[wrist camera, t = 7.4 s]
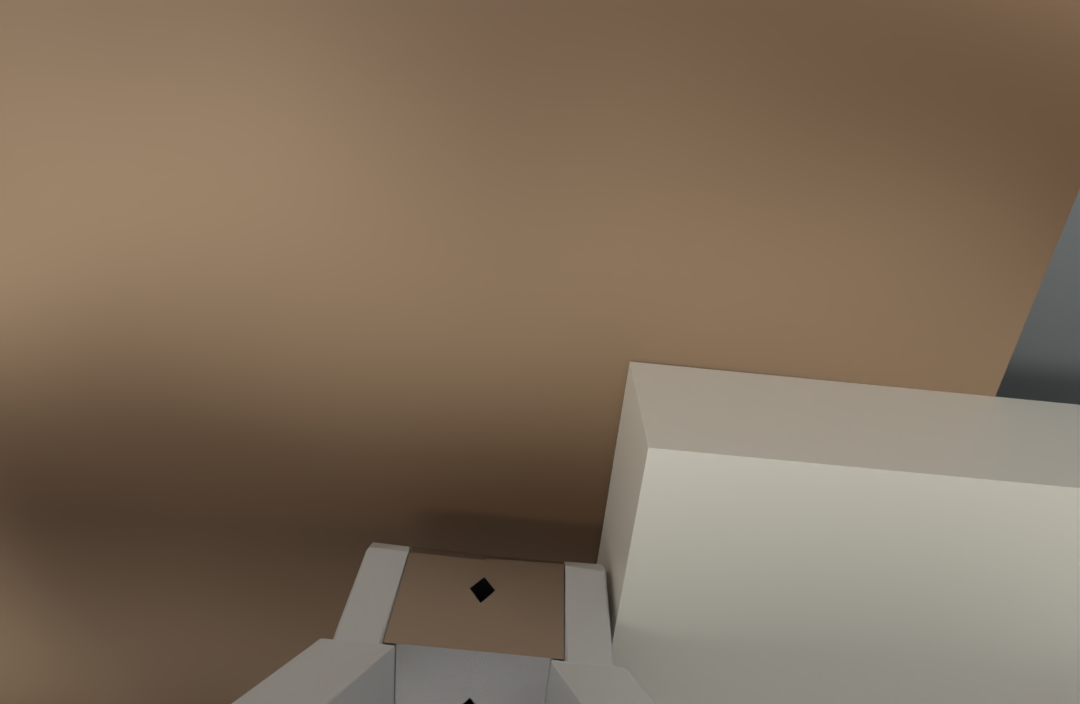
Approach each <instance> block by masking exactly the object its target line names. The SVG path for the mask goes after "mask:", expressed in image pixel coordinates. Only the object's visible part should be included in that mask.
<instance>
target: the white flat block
mask: <svg viewBox="0 0 1080 704" xmlns="http://www.w3.org/2000/svg"><path fill="white" fill-rule="evenodd" d="M597 564H602V565H603V566H604V568H605V570H606V580H607V593H608V605H609V617H610V629H611V642H612V654H613V666H616V667H625V668H627V670H628V671H629V672H630V673H631V675H632V676H633V677H634V678H635V679H636V681H637V682H638V683H639V684H640V685H641V687H642V688H643V689H644V690H645V691H646V693H647V694H648V695H649V696H650V698H651V699H652V700H653V701H654V702H655V704H1080V405H1077V404H1067V403H1057V402H1046V401H1036V400H1025V399H1015V398H1005V397H993V396H983V395H973V394H963V393H953V392H942V391H932V390H921V389H911V388H901V387H890V386H880V385H869V384H859V383H849V382H838V381H828V380H817V379H807V378H797V377H786V376H776V375H765V374H755V373H745V372H734V371H724V370H713V369H703V368H693V367H682V366H672V365H661V364H651V363H641V362H629V368H628V375H627V381H626V387H625V393H624V399H623V405H622V412H621V418H620V424H619V430H618V436H617V442H616V448H615V455H614V461H613V467H612V473H611V479H610V485H609V492H608V498H607V504H606V510H605V516H604V522H603V529H602V535H601V541H600V547H599V553H598V559H597Z"/></svg>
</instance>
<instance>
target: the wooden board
mask: <svg viewBox="0 0 1080 704" xmlns="http://www.w3.org/2000/svg"><path fill="white" fill-rule="evenodd" d="M1079 189H1080V0H0V704H232V703H233V702H235V701H236V700H237V699H239V698H240V697H241V696H243V695H244V694H245V693H247V692H248V691H250V690H251V689H252V688H254V687H255V686H256V685H258V684H259V683H260V682H262V681H263V680H264V679H266V678H267V677H269V676H270V675H271V674H273V673H274V672H275V671H277V670H278V669H279V668H281V667H282V666H284V665H285V664H286V663H288V662H289V661H290V660H292V659H293V658H294V657H296V656H297V655H298V654H300V653H301V652H303V651H304V650H305V649H307V648H308V647H309V646H311V645H312V644H313V643H315V642H316V641H317V640H319V639H333V637H334V635H335V632H336V629H337V627H338V624H339V621H340V619H341V616H342V614H343V611H344V608H345V606H346V603H347V600H348V598H349V595H350V592H351V590H352V587H353V585H354V582H355V579H356V577H357V574H358V571H359V569H360V566H361V563H362V561H363V558H364V555H365V553H366V550H367V549H368V548H369V546H370V545H371V544H372V543H373V542H375V543H384V544H392V545H401V546H409V547H413V546H415V547H423V548H431V549H440V550H448V551H456V552H464V553H473V554H481V555H489V556H499V557H510V558H521V559H532V560H543V561H555V562H563V563H564V562H578V563H591V564H597V559H598V553H599V547H600V541H601V535H602V529H603V522H604V516H605V510H606V504H607V498H608V492H609V485H610V479H611V473H612V467H613V461H614V455H615V448H616V442H617V436H618V430H619V424H620V418H621V412H622V405H623V399H624V393H625V387H626V381H627V375H628V368H629V362H641V363H651V364H661V365H672V366H682V367H693V368H703V369H713V370H724V371H734V372H745V373H755V374H765V375H776V376H786V377H797V378H807V379H817V380H828V381H838V382H849V383H859V384H869V385H880V386H890V387H901V388H911V389H921V390H932V391H942V392H953V393H963V394H973V395H983V396H993V397H995V396H996V393H997V391H998V388H999V386H1000V384H1001V381H1002V379H1003V376H1004V374H1005V371H1006V369H1007V366H1008V364H1009V361H1010V359H1011V356H1012V354H1013V352H1014V349H1015V347H1016V344H1017V342H1018V339H1019V337H1020V334H1021V332H1022V329H1023V327H1024V324H1025V322H1026V320H1027V317H1028V315H1029V312H1030V310H1031V307H1032V305H1033V302H1034V300H1035V297H1036V295H1037V292H1038V290H1039V288H1040V285H1041V283H1042V280H1043V278H1044V275H1045V273H1046V270H1047V268H1048V265H1049V263H1050V260H1051V258H1052V256H1053V253H1054V251H1055V248H1056V246H1057V243H1058V241H1059V238H1060V236H1061V233H1062V231H1063V228H1064V226H1065V224H1066V221H1067V219H1068V216H1069V214H1070V211H1071V209H1072V206H1073V204H1074V201H1075V199H1076V196H1077V194H1078V192H1079Z"/></svg>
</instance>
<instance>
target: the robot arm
mask: <svg viewBox="0 0 1080 704" xmlns="http://www.w3.org/2000/svg"><path fill="white" fill-rule="evenodd" d="M232 704H655V702H654V701H653V700H652V699H651V698H650V696H649V695H648V694H647V693H646V691H645V690H644V689H643V688H642V687H641V685H640V684H639V683H638V682H637V681H636V679H635V678H634V677H633V676H632V675H631V673H630V672H629V671H628V670H627V668H625V667H616V666H613V654H612V642H611V629H610V617H609V605H608V593H607V580H606V570H605V568H604V566H603V565H602V564H591V563H578V562H564V563H563V562H555V561H543V560H532V559H521V558H510V557H499V556H489V555H481V554H473V553H464V552H456V551H448V550H440V549H431V548H423V547H415V546H413V547H409V546H401V545H392V544H384V543H375V542H373V543H372V544H371V545H370V546H369V548H368V549H367V550H366V553H365V555H364V558H363V561H362V563H361V566H360V569H359V571H358V574H357V577H356V579H355V582H354V585H353V587H352V590H351V592H350V595H349V598H348V600H347V603H346V606H345V608H344V611H343V614H342V616H341V619H340V621H339V624H338V627H337V629H336V632H335V635H334V637H333V639H319V640H317V641H316V642H315V643H313V644H312V645H311V646H309V647H308V648H307V649H305V650H304V651H303V652H301V653H300V654H298V655H297V656H296V657H294V658H293V659H292V660H290V661H289V662H288V663H286V664H285V665H284V666H282V667H281V668H279V669H278V670H277V671H275V672H274V673H273V674H271V675H270V676H269V677H267V678H266V679H264V680H263V681H262V682H260V683H259V684H258V685H256V686H255V687H254V688H252V689H251V690H250V691H248V692H247V693H245V694H244V695H243V696H241V697H240V698H239V699H237V700H236V701H235V702H233V703H232Z"/></svg>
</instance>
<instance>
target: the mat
mask: <svg viewBox="0 0 1080 704" xmlns="http://www.w3.org/2000/svg"><path fill="white" fill-rule="evenodd" d="M995 397H1005V398H1015V399H1025V400H1036V401H1046V402H1057V403H1067V404H1077V405H1080V189H1079V192H1078V194H1077V196H1076V199H1075V201H1074V204H1073V206H1072V209H1071V211H1070V214H1069V216H1068V219H1067V221H1066V224H1065V226H1064V228H1063V231H1062V233H1061V236H1060V238H1059V241H1058V243H1057V246H1056V248H1055V251H1054V253H1053V256H1052V258H1051V260H1050V263H1049V265H1048V268H1047V270H1046V273H1045V275H1044V278H1043V280H1042V283H1041V285H1040V288H1039V290H1038V292H1037V295H1036V297H1035V300H1034V302H1033V305H1032V307H1031V310H1030V312H1029V315H1028V317H1027V320H1026V322H1025V324H1024V327H1023V329H1022V332H1021V334H1020V337H1019V339H1018V342H1017V344H1016V347H1015V349H1014V352H1013V354H1012V356H1011V359H1010V361H1009V364H1008V366H1007V369H1006V371H1005V374H1004V376H1003V379H1002V381H1001V384H1000V386H999V388H998V391H997V393H996V396H995Z"/></svg>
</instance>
